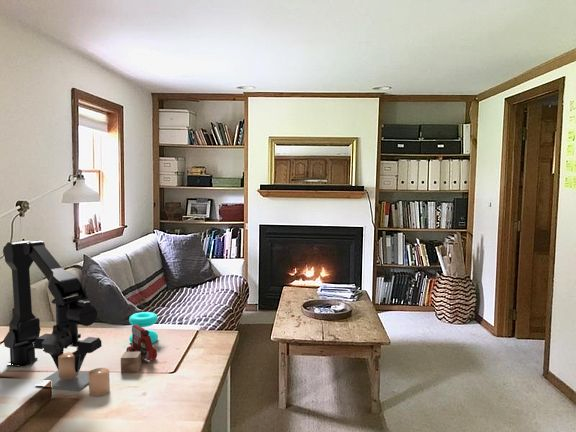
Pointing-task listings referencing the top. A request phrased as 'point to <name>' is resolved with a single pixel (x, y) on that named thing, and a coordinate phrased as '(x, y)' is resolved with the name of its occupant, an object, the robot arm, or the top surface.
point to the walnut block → (130, 362)
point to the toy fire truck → (142, 343)
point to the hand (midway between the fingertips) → (68, 371)
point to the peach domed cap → (99, 382)
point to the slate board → (69, 381)
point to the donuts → (145, 323)
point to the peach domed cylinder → (67, 366)
